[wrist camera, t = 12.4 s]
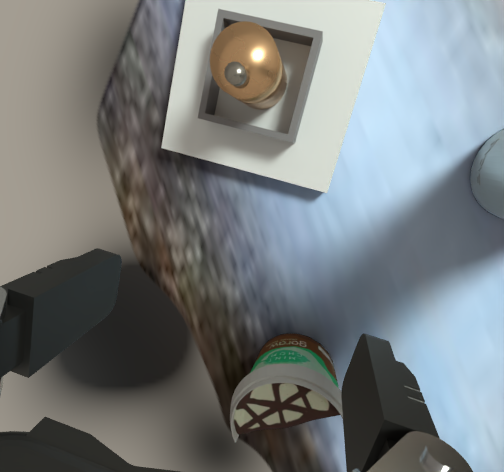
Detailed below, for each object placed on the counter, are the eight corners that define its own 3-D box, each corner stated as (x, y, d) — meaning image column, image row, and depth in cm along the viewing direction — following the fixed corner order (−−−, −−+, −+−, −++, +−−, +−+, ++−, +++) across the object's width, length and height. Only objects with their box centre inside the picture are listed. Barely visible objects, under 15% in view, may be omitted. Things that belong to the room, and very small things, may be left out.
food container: (327, 312, 41) (328, 363, 31) (344, 358, 41) (351, 421, 32) (231, 338, 44) (206, 392, 34) (249, 380, 45) (230, 444, 35)
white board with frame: (382, 11, 32) (392, -12, 28) (326, 190, 37) (327, 197, 32) (198, -26, 34) (178, -54, 30) (169, 147, 39) (147, 148, 35)
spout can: (292, 58, 33) (283, 17, 22) (280, 114, 34) (266, 100, 24) (240, 49, 33) (207, 4, 23) (231, 104, 35) (196, 86, 24)
